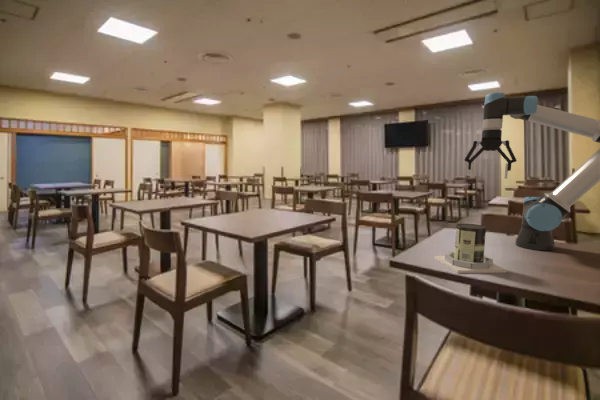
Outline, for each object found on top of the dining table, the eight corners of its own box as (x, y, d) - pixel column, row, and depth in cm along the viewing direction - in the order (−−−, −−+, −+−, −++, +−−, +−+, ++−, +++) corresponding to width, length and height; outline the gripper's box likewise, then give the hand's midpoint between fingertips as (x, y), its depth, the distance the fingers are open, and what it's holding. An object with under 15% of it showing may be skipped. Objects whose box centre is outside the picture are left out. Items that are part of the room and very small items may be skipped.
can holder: (477, 257, 140) (477, 250, 140) (506, 272, 123) (506, 264, 122) (434, 258, 139) (434, 251, 139) (457, 273, 121) (458, 264, 121)
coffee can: (478, 259, 135) (481, 224, 133) (487, 267, 125) (490, 229, 123) (450, 257, 137) (453, 222, 135) (456, 265, 127) (459, 227, 125)
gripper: (526, 129, 147) (521, 178, 150) (463, 131, 162) (460, 176, 165) (525, 127, 141) (520, 179, 144) (459, 130, 156) (456, 176, 158)
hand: (488, 177), depth 154 cm, fingers open, 13 cm apart
